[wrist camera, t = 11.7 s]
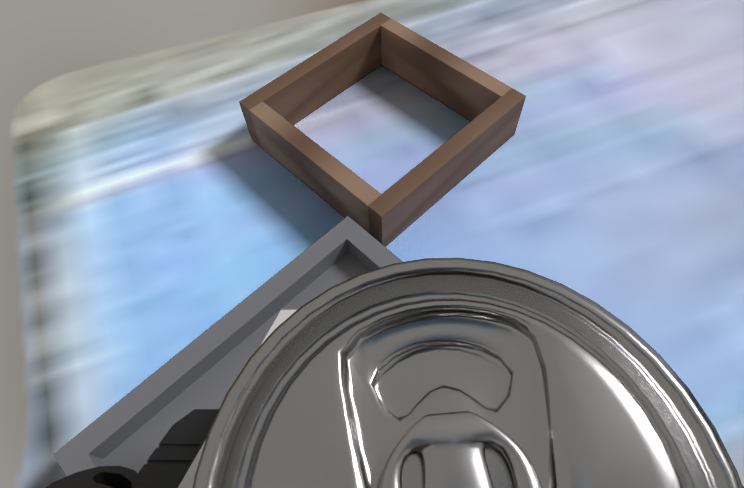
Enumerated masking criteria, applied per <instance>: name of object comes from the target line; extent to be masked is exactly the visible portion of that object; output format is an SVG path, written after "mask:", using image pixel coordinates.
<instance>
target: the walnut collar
mask: <svg viewBox="0 0 744 488" xmlns="http://www.w3.org/2000/svg"><path fill="white" fill-rule="evenodd" d="M380 65H383V66H385V67H386V68H388V69H389V70H391V71H392V72H394V73H396V74H397V75H399V76H400V77H402V78H403V79H405V80H407V81H408V82H410V83H411V84H413V85H415V86H416V87H418V88H419V89H421V90H422V91H424V92H426V93H427V94H429V95H430V96H432V97H433V98H435V99H437V100H438V101H440V102H441V103H443V104H445V105H446V106H448V107H449V108H451V109H452V110H454V111H456V112H457V113H459V114H460V115H462V116H464V117H465V118H467V119H468V120H470V121H471V122H470V123H469V124H467V125H466V126H465V127H464V128H462V129H461V130H460V131H459V132H458V133H456V134H455V135H454V136H453V137H451V138H450V139H449V140H448V141H447V142H445V143H444V144H443V145H442V146H440V147H439V148H438V149H437V150H436V151H434V152H433V153H432V154H431V155H429V156H428V157H427V158H426V159H424V160H423V161H422V162H421V163H420V164H418V165H417V166H416V167H415V168H413V169H412V170H411V171H410V172H409V173H407V174H406V175H405V176H404V177H402V178H401V179H400V180H399V181H398V182H396V183H395V184H394V185H393V186H391V187H390V188H389V189H388V190H386V191H385V192H384V193H383V194H381V193H379V192H378V191H377V190H375V189H374V188H373V187H372V186H370V185H369V184H368V183H366V182H365V181H364V180H363V179H361V178H360V177H359V176H357V175H356V174H355V173H354V172H352V171H351V170H350V169H349V168H347V167H346V166H345V165H343V164H342V163H341V162H340V161H338V160H337V159H336V158H334V157H333V156H332V155H331V154H329V153H328V152H327V151H325V150H324V149H323V148H322V147H320V146H319V145H318V144H316V143H315V142H314V141H313V140H311V139H310V138H309V137H307V136H306V135H305V134H304V133H302V132H301V131H300V130H299V129H297V128H296V127H295V126H293V125H294V124H295V123H297V122H298V121H300V120H301V119H303V118H304V117H306V116H307V115H309V114H310V113H312V112H313V111H314V110H316V109H317V108H319V107H320V106H322V105H323V104H325V103H326V102H328V101H329V100H331V99H332V98H333V97H335V96H336V95H338V94H339V93H341V92H342V91H344V90H345V89H347V88H348V87H350V86H351V85H352V84H354V83H355V82H357V81H358V80H360V79H361V78H363V77H364V76H366V75H367V74H369V73H370V72H372V71H373V70H374V69H376V68H377V67H379V66H380ZM525 97H526V96H525V95H523V94H521V93H520V92H518V91H516V90H514V89H513V88H511V87H509V86H507V85H506V84H504V83H502V82H501V81H499V80H497V79H495V78H494V77H492V76H490V75H488V74H487V73H485V72H483V71H481V70H480V69H478V68H476V67H474V66H473V65H471V64H469V63H467V62H466V61H464V60H462V59H460V58H459V57H457V56H455V55H454V54H452V53H450V52H448V51H447V50H445V49H443V48H441V47H440V46H438V45H436V44H434V43H433V42H431V41H429V40H427V39H426V38H424V37H422V36H420V35H419V34H417V33H415V32H414V31H412V30H410V29H408V28H407V27H405V26H403V25H401V24H400V23H398V22H396V21H394V20H393V19H391V18H389V17H387V16H386V15H384V14H382V13H379V14H378V15H376V16H375V17H373V18H372V19H370V20H368V21H367V22H365V23H364V24H362V25H360V26H359V27H357V28H356V29H354V30H353V31H351V32H349V33H348V34H346V35H345V36H343V37H341V38H340V39H338V40H337V41H335V42H333V43H332V44H330V45H329V46H327V47H326V48H324V49H322V50H321V51H319V52H318V53H316V54H314V55H313V56H311V57H310V58H308V59H307V60H305V61H303V62H302V63H300V64H299V65H297V66H295V67H294V68H292V69H291V70H289V71H287V72H286V73H284V74H283V75H281V76H280V77H278V78H276V79H275V80H273V81H272V82H270V83H268V84H267V85H265V86H264V87H262V88H260V89H259V90H257V91H256V92H254V93H253V94H251V95H249V96H248V97H246V98H245V99H243V100H241V101H240V102H239V103H240V106H241V109H242V112H243V115H244V118H245V121H246V124H247V127H248V130H249V132H250V135H251V138H252V140H253V141H255V142H256V143H257V144H258V145H259V146H261V147H262V148H263V149H264V150H265V151H267V152H268V153H269V154H270V155H271V156H273V157H274V158H275V159H276V160H277V161H278V162H280V163H281V164H282V165H283V166H284V167H286V168H287V169H288V170H289V171H290V172H292V173H293V174H294V175H295V176H296V177H297V178H299V179H300V180H301V181H302V182H303V183H305V184H306V185H307V186H308V187H309V188H311V189H312V190H313V191H314V192H315V193H317V194H318V195H319V196H320V197H321V198H322V199H324V200H325V201H326V202H327V203H328V204H330V205H331V206H332V207H333V208H334V209H336V210H337V211H338V212H339V213H340V214H341V215H343V216H344V217H345V218H346V217H347V216H349V217H350V218H351V219H352V220H353V221H355V222H356V223H357V224H358V225H359V226H361V227H362V228H363V229H364V230H365V231H367V232H368V233H369V234H370V235H371V236H373V237H374V238H375V239H376V240H377V241H379V242H380V243H381V244H382V245H383V246H384V247H386V246H387V245H388V244H389V243H390V242H391V241H393V240H394V239H395V238H396V237H397V236H398V235H399V234H401V233H402V232H403V231H404V230H405V229H406V228H407V227H409V226H410V225H411V224H412V223H413V222H414V221H416V220H417V219H418V218H419V217H420V216H421V215H422V214H424V213H425V212H426V211H427V210H428V209H429V208H430V207H432V206H433V205H434V204H435V203H436V202H437V201H438V200H440V199H441V198H442V197H443V196H444V195H445V194H446V193H448V192H449V191H450V190H451V189H452V188H453V187H454V186H456V185H457V184H458V183H459V182H460V181H461V180H463V179H464V178H465V177H466V176H467V175H468V174H469V173H471V172H472V171H473V170H474V169H475V168H476V167H477V166H479V165H480V164H481V163H482V162H483V161H484V160H485V159H487V158H488V157H489V156H490V155H491V154H492V153H493V152H495V151H496V150H497V149H498V148H499V147H500V146H502V145H503V144H504V143H505V142H506V141H507V140H508V139H510V138H511V137H512V136H513V135H514V134H515V131H516V127H517V124H518V121H519V117H520V114H521V111H522V107H523V104H524V101H525Z"/></svg>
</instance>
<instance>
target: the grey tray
mask: <svg viewBox="0 0 744 488" xmlns="http://www.w3.org/2000/svg"><path fill="white" fill-rule="evenodd" d="M401 262H402V261H401V260H400V259H399V258H398V257H396V256H395V255H394V254H393V253H392V252H390V251H389V250H388V249H387V248H386V247H384V246H383V245H382V244H381V243H380V242H379V241H377V240H376V239H375V238H374V237H373V236H371V235H370V234H369V233H368V232H367V231H365V230H364V229H363V228H362V227H361V226H359V225H358V224H357V223H356V222H355V221H353V220H352V219H351V218H350V217H349V216H347V217H346V218H345V219H343V220H342V221H341V222H340V223H338V224H337V225H336V226H335V227H333V228H332V229H331V230H330V231H329V232H327V233H326V234H325V235H324V236H322V237H321V238H320V239H319V240H317V241H316V242H315V243H314V244H312V245H311V246H310V247H309V248H308V249H306V250H305V251H304V252H303V253H301V254H300V255H299V256H298V257H296V258H295V259H294V260H293V261H291V262H290V263H289V264H288V265H287V266H285V267H284V268H283V269H282V270H280V271H279V272H278V273H277V274H275V275H274V276H273V277H272V278H270V279H269V280H268V281H267V282H266V283H264V284H263V285H262V286H261V287H259V288H258V289H257V290H256V291H254V292H253V293H252V294H251V295H249V296H248V297H247V298H246V299H245V300H243V301H242V302H241V303H240V304H238V305H237V306H236V307H235V308H233V309H232V310H231V311H230V312H228V313H227V314H226V315H225V316H224V317H222V318H221V319H220V320H219V321H217V322H216V323H215V324H214V325H212V326H211V327H210V328H209V329H207V330H206V331H205V332H204V333H203V334H201V335H200V336H199V337H198V338H196V339H195V340H194V341H193V342H191V343H190V344H189V345H188V346H186V347H185V348H184V349H183V350H182V351H180V352H179V353H178V354H177V355H175V356H174V357H173V358H172V359H170V360H169V361H168V362H167V363H165V364H164V365H163V366H162V367H161V368H159V369H158V370H157V371H156V372H154V373H153V374H152V375H151V376H149V377H148V378H147V379H146V380H144V381H143V382H142V383H141V384H140V385H138V386H137V387H136V388H135V389H133V390H132V391H131V392H130V393H128V394H127V395H126V396H125V397H123V398H122V399H121V400H120V401H119V402H117V403H116V404H115V405H114V406H112V407H111V408H110V409H109V410H107V411H106V412H105V413H104V414H102V415H101V416H100V417H99V418H98V419H96V420H95V421H94V422H93V423H91V424H90V425H89V426H88V427H86V428H85V429H84V430H83V431H81V432H80V433H79V434H78V435H77V436H75V437H74V438H73V439H72V440H70V441H69V442H68V443H67V444H65V445H64V446H63V447H62V448H60V449H59V450H58V451H57V452H56V453H54V456H55V458H56V460H57V461H58V463H59V465H60V466H61V468H62V470H63V471H64V473H65V475H66V477H67V476H69V475H71V474H73V473H76V472H79V471H83V470H87V469H91V468H95V467H99V466H122V467H126V468H129V469H133V470H135V471H136V472H137V473H138V472H139V471H140V470H141V468H142V467H143V465H144V464H147V460H148V459H149V457H150V456H151V454H152V453H153V452H154V450H155V449H156V448H159V443H160V442H161V440H162V439H163V438H164V436H165V435H166V434H167V432H168V431H169V429H170V428H171V427H172V425H173V424H175V423H176V422H178V421H179V420H180V419H182V418H183V417H184V416H186V415H187V414H189V413H190V412H191V411H193V410H194V409H219V408H220V406H221V404H222V402H223V400H224V398H225V396H226V393H227V392H228V390H229V389H230V387H231V386H232V384H233V382H234V381H235V379H236V378H237V376H238V375H239V373H240V372H241V370H242V369H243V367H244V366H245V364H246V363H247V361H248V359H249V358H250V357H251V356H252V355H253V354H254V352H255V351H256V350H257V349H258V348H259V347H260V345H261V344H262V342H263V340H264V338H265V337H266V335H267V333H268V332H269V330H270V328H271V326H272V325H273V323H274V321H275V320H276V318H277V316H278V314H279V313H280V311H281V310H298V309H299V308H300V307H301V306H303V305H304V304H306V303H307V302H309V301H310V300H312V299H313V298H315V297H317V296H318V295H320V294H321V293H323V292H324V291H326V290H327V289H329V288H330V287H333V286H335V285H337V284H339V283H341V282H343V281H346V280H348V279H350V278H352V277H354V276H356V275H359V274H361V273H364V272H367V271H370V270H374V269H377V268H380V267H384V266H387V265H390V264H394V263H401Z"/></svg>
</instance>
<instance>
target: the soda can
mask: <svg viewBox="0 0 744 488" xmlns="http://www.w3.org/2000/svg"><path fill="white" fill-rule="evenodd" d="M193 488H743V486H742V483H741V480H740V478H739V475H738V472H737V470H736V468H735V466H734V464H733V462H732V460H731V458H730V456H729V454H728V452H727V450H726V448H725V446H724V444H723V443H722V441H721V439H720V437H719V435H718V433H717V431H716V429H715V427H714V425H713V424H712V423H711V421H710V420H709V418H708V417H707V415H706V414H705V412H704V411H703V409H702V408H701V406H700V405H699V403H698V402H697V400H696V399H695V397H694V396H693V394H692V393H691V391H690V390H689V388H688V387H687V386H686V385H685V384H684V382H683V381H682V380H681V379H680V378H679V377H678V375H677V374H676V373H675V372H674V371H673V370H672V368H671V367H670V366H669V365H668V364H667V363H666V361H665V360H664V359H663V358H662V357H661V356H660V354H658V353H657V352H656V351H655V350H654V349H653V348H652V347H651V346H650V345H649V344H648V343H646V342H645V341H644V340H643V339H642V338H641V337H640V336H639V335H638V334H637V333H636V332H635V331H633V330H632V329H631V328H630V327H629V326H628V325H626V324H625V323H624V322H622V321H621V320H620V319H618V318H617V317H615V316H614V315H613V314H611V313H610V312H608V311H607V310H606V309H604V308H603V307H601V306H600V305H599V304H597V303H596V302H594V301H592V300H590V299H589V298H587V297H585V296H583V295H581V294H579V293H578V292H576V291H574V290H572V289H570V288H568V287H567V286H565V285H563V284H561V283H558V282H556V281H553V280H551V279H548V278H545V277H543V276H540V275H538V274H535V273H533V272H530V271H528V270H524V269H520V268H516V267H512V266H508V265H504V264H500V263H496V262H490V261H481V260H473V259H464V258H427V259H420V260H413V261H407V262H401V263H394V264H390V265H387V266H384V267H380V268H377V269H374V270H370V271H367V272H364V273H361V274H359V275H356V276H354V277H352V278H350V279H348V280H346V281H343V282H341V283H339V284H337V285H335V286H333V287H330V288H329V289H327V290H326V291H324V292H323V293H321V294H320V295H318V296H317V297H315V298H313V299H312V300H310V301H309V302H307V303H306V304H304V305H303V306H301V307H300V308H299V309H298V310H296V311H295V312H294V313H293V314H292V315H291V316H290V317H288V318H287V319H286V320H285V321H284V322H283V323H282V324H280V325H279V326H278V327H277V328H276V329H275V330H274V331H273V332H272V333H271V334H270V335H269V336H268V337H267V339H266V340H265V341H264V342H263V343H262V344H261V346H260V347H259V348H258V349H257V350H256V351H255V352H254V354H253V355H252V356H251V357H250V358H249V359H248V361H247V363H246V364H245V366H244V367H243V369H242V370H241V372H240V373H239V375H238V376H237V378H236V379H235V381H234V382H233V384H232V386H231V387H230V389H229V390H228V392H227V393H226V396H225V398H224V400H223V402H222V404H221V406H220V408H219V410H218V413H217V415H216V417H215V419H214V421H213V423H212V425H211V427H210V429H209V432H208V435H207V438H206V441H205V444H204V448H203V451H202V454H201V457H200V460H199V463H198V467H197V470H196V473H195V477H194V483H193Z"/></svg>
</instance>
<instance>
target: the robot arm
mask: <svg viewBox="0 0 744 488" xmlns="http://www.w3.org/2000/svg"><path fill="white" fill-rule="evenodd" d="M295 311H296V310H281V311H280V313H279V314H278V316H277V318H276V320H275V321H274V323H273V325H272V326H271V328H270V330H269V332H268V333H267V335H266V337H265V338H264V340H263V342H264V341H265V340H266V339H267V337H268V336H269V335H270V334H271V333H272V332H273V331H274V330H275V329H276V328H277V327H278V326H279V325H280V324H282V323H283V322H284V321H285V320H286V319H287V318H288V317H290V316H291V315H292V314H293V313H294V312H295ZM263 342H262V343H263ZM260 346H261V345H260ZM218 410H219V409H194V410H193V411H191V412H190V413H189V414H187V415H186V416H184V417H183V418H182V419H180V420H179V421H178V422H176V423H175V424H173V425H172V427H171V428H170V429H169V431H168V432H167V434H166V435H165V436H164V438H163V439H162V440H161V442H160V443H159V448H156V449H155V450H154V452H153V453H152V454H151V456H150V457H149V459H148V460H147V464H144V465H143V467H142V468H141V470H140V471H139V472H138V473H137V472H136V471H135V470H133V469H129V468H126V467H122V466H99V467H95V468H91V469H87V470H83V471H79V472H76V473H73V474H71V475H69V476H67V477H65V478H62V479H60V480H58V481H56V482H54V483H52V484H50V485H49V486H48V487H46V488H193V483H194V477H195V473H196V470H197V467H198V463H199V460H200V457H201V454H202V451H203V448H204V444H205V441H206V438H207V435H208V432H209V429H210V427H211V425H212V423H213V421H214V419H215V417H216V415H217V413H218ZM742 486H743V485H742ZM743 488H744V487H743Z"/></svg>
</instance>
